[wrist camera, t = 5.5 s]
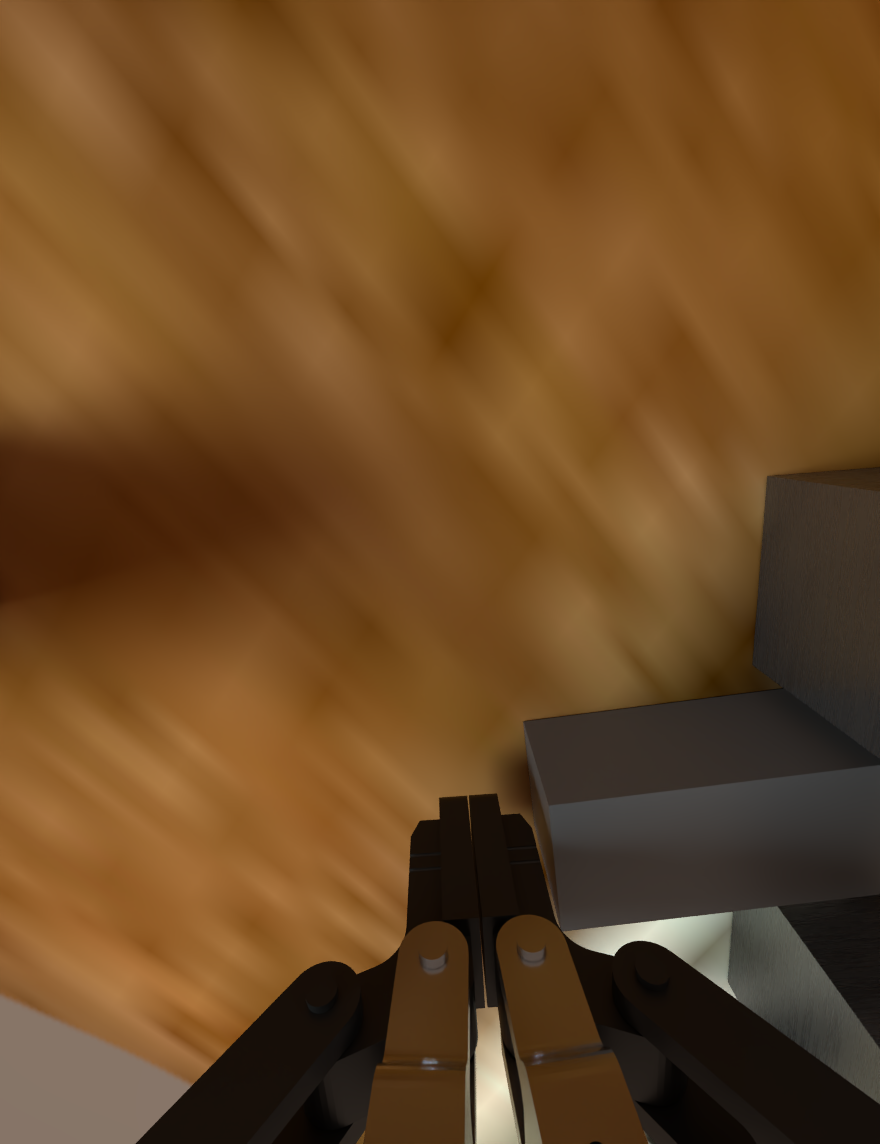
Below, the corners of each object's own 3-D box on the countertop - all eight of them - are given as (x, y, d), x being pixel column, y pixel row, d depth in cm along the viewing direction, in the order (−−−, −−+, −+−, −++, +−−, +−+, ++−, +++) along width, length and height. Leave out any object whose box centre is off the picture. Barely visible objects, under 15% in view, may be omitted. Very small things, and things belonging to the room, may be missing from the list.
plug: (535, 833, 16) (578, 1005, 11) (522, 711, 15) (563, 843, 10) (1042, 772, 15) (1307, 921, 11) (1065, 642, 14) (1370, 745, 10)
